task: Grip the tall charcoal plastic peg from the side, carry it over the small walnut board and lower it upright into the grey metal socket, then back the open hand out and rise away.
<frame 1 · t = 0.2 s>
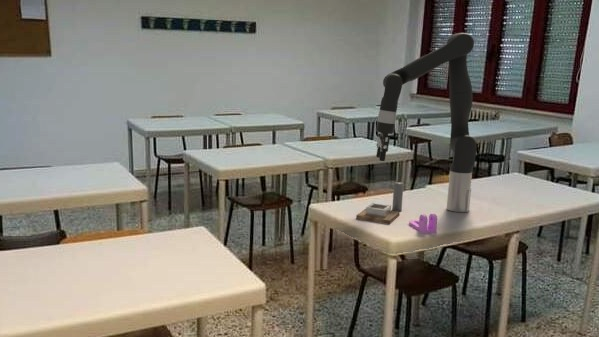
hand: (380, 159, 231), 22 cm above the table, tool pointing down, fingers open, 8 cm apart
peg: (396, 210, 233), on the table
bracket: (420, 228, 210), on the table
socket board: (378, 217, 223), on the table
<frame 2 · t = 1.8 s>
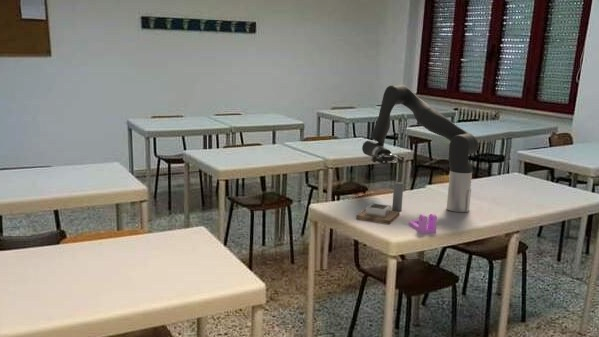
hand: (391, 161, 240), 19 cm above the table, tool horizontal, fingers open, 8 cm apart
nothing on the table moved.
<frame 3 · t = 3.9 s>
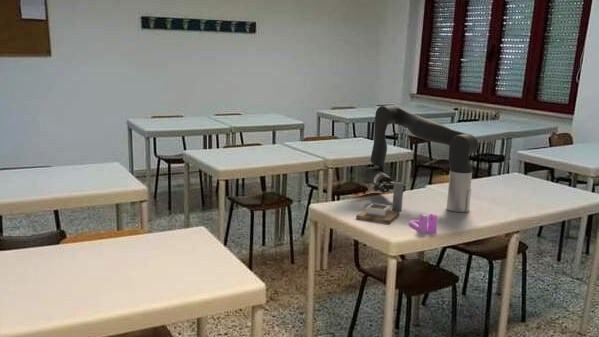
hand: (393, 190, 238), 7 cm above the table, tool horizontal, fingers open, 8 cm apart
nothing on the table moved.
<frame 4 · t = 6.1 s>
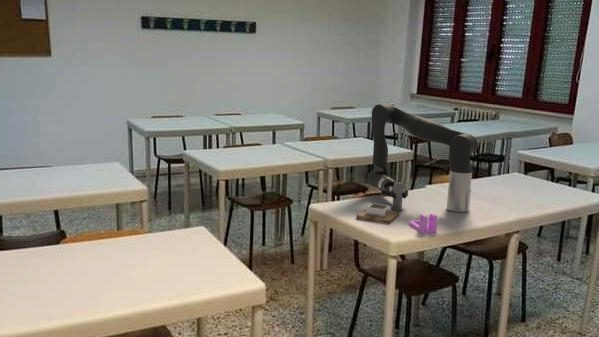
hand: (400, 196, 229), 7 cm above the table, tool horizontal, fingers closed on peg, 4 cm apart
peg: (396, 210, 233), on the table, touching gripper
everything else where it was.
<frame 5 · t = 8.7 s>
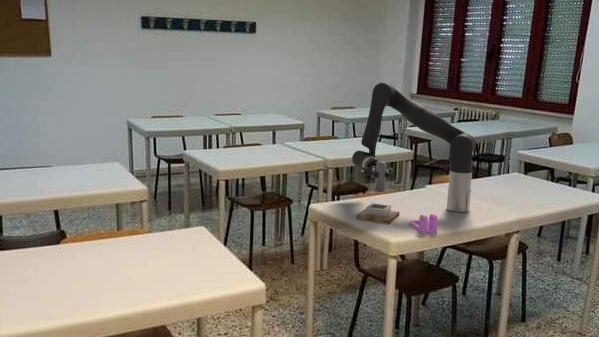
hand: (382, 175, 217), 18 cm above the table, tool horizontal, fingers closed on peg, 4 cm apart
peg: (379, 190, 222), point 11 cm above the table, touching gripper
everything else where it was.
when the fingers open (9 cm above the table, at t = 11.2 s): peg stays where it is, resting on socket board.
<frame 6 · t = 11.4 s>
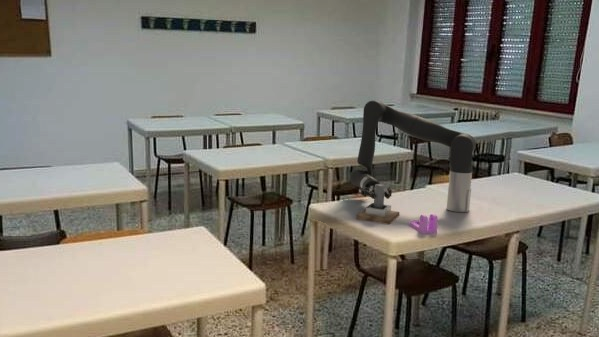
hand: (381, 196, 218), 9 cm above the table, tool horizontal, fingers open, 5 cm apart
peg: (378, 213, 222), point 2 cm above the table, touching socket board
everything else where it was.
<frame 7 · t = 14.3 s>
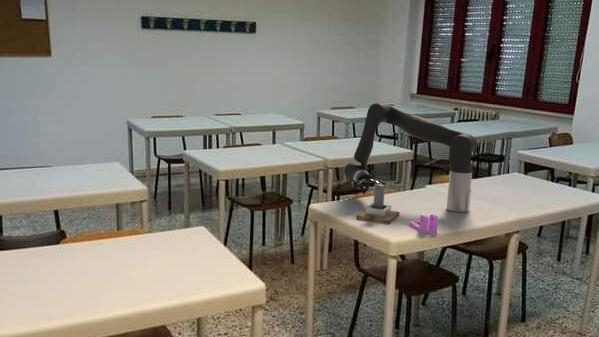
hand: (372, 188, 231), 10 cm above the table, tool horizontal, fingers open, 8 cm apart
nothing on the table moved.
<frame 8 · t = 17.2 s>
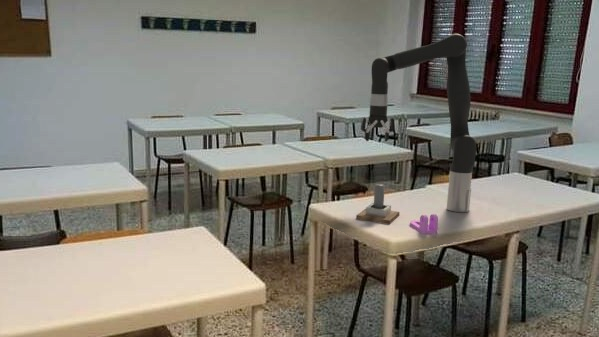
hand: (376, 141, 239), 28 cm above the table, tool pointing down, fingers open, 8 cm apart
nothing on the table moved.
at the end: peg 0.1 cm off-centre on the socket board, point 1.5 cm above the socket board's base; peg tilted 1°; the gripper is holding nothing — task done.
